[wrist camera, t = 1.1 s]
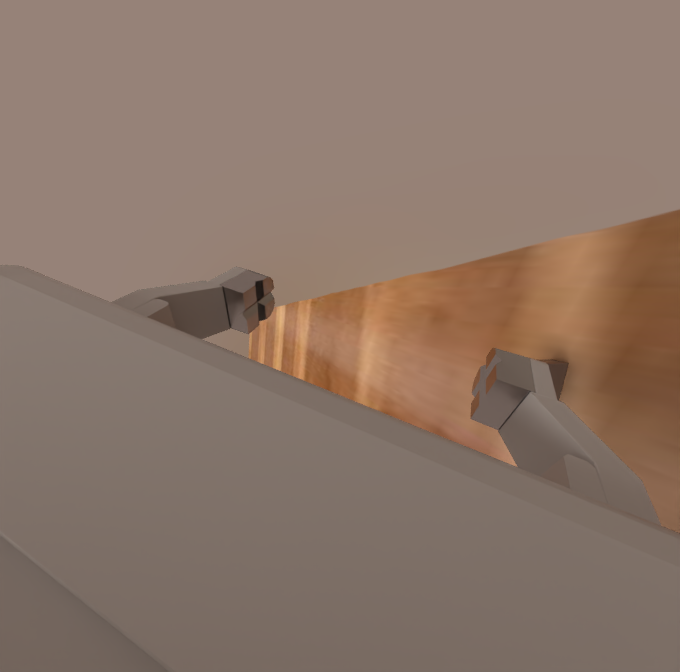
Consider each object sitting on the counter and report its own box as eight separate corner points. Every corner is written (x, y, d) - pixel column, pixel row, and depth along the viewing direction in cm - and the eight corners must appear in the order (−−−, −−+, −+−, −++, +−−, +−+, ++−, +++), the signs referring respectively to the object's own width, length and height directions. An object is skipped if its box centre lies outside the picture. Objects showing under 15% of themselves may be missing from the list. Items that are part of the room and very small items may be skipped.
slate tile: (568, 363, 39) (529, 364, 33) (554, 416, 40) (513, 428, 34) (550, 359, 41) (509, 359, 35) (537, 410, 42) (495, 420, 36)
